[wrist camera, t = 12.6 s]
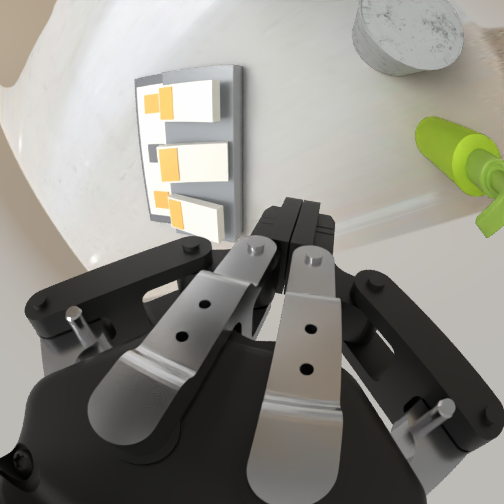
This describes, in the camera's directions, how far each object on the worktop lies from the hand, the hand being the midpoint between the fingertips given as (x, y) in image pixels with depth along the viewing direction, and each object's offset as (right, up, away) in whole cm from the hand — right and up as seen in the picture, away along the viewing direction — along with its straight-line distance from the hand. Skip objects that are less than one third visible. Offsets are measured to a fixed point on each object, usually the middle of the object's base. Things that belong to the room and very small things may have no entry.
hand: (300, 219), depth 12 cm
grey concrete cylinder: (+14, +24, +10) cm, 30 cm away
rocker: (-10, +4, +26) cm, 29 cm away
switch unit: (-12, +14, +27) cm, 32 cm away
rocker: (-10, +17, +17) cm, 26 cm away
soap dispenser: (+21, +13, +15) cm, 29 cm away
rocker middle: (-10, +10, +22) cm, 26 cm away
